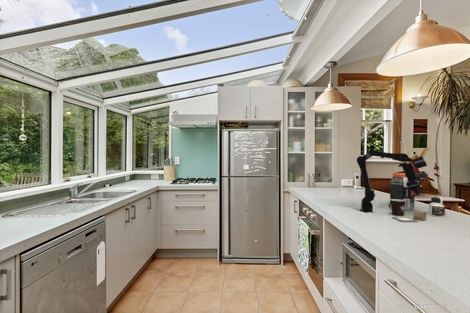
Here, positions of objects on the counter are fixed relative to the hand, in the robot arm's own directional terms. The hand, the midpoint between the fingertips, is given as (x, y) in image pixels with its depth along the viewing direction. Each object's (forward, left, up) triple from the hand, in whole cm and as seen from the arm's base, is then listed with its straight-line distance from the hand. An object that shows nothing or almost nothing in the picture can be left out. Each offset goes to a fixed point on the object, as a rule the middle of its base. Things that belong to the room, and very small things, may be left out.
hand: (419, 193), depth 173 cm
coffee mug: (-13, +4, -15) cm, 20 cm away
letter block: (-5, -8, -15) cm, 18 cm away
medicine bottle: (+14, +4, -15) cm, 21 cm away
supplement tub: (+5, +27, -15) cm, 31 cm away
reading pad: (-15, -9, -15) cm, 23 cm away
